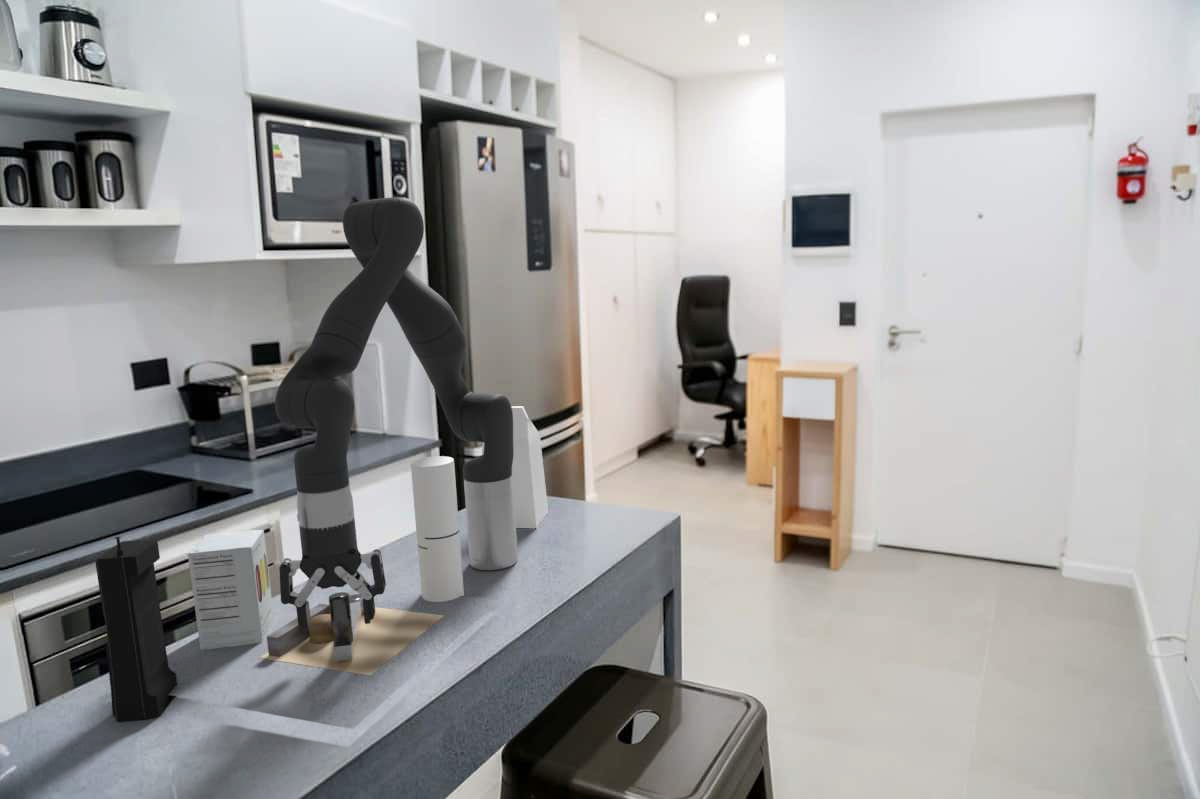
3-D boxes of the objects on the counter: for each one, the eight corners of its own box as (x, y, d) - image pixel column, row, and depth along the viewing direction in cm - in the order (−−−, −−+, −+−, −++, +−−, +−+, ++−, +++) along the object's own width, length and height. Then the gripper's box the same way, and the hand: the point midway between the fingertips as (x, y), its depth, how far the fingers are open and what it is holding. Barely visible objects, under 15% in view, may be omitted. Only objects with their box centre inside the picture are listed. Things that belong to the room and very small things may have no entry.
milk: (483, 528, 182) (475, 412, 177) (498, 512, 193) (491, 402, 188) (536, 529, 180) (529, 411, 175) (548, 512, 191) (542, 402, 186)
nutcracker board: (344, 611, 141) (342, 586, 140) (445, 624, 134) (442, 598, 133) (260, 667, 122) (256, 638, 121) (371, 685, 115) (368, 655, 115)
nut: (323, 630, 130) (321, 612, 130) (343, 634, 128) (340, 616, 128) (304, 641, 127) (302, 623, 126) (324, 645, 125) (321, 626, 124)
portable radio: (138, 692, 116) (113, 522, 112) (182, 688, 117) (159, 519, 113) (110, 723, 109) (82, 541, 104) (158, 719, 109) (131, 538, 105)
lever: (344, 608, 137) (339, 555, 136) (367, 605, 138) (362, 552, 136) (330, 662, 119) (324, 601, 117) (356, 658, 119) (350, 598, 118)
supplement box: (264, 651, 127) (251, 547, 124) (200, 659, 125) (185, 553, 123) (276, 625, 136) (264, 527, 134) (216, 632, 135) (204, 533, 132)
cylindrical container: (455, 611, 139) (444, 466, 135) (415, 609, 140) (403, 466, 136) (470, 593, 146) (460, 456, 142) (432, 592, 147) (421, 456, 143)
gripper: (380, 505, 122) (390, 609, 124) (279, 514, 119) (291, 619, 122) (375, 521, 114) (385, 630, 117) (267, 530, 112) (280, 642, 115)
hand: (337, 625), depth 120 cm, fingers open, 8 cm apart
